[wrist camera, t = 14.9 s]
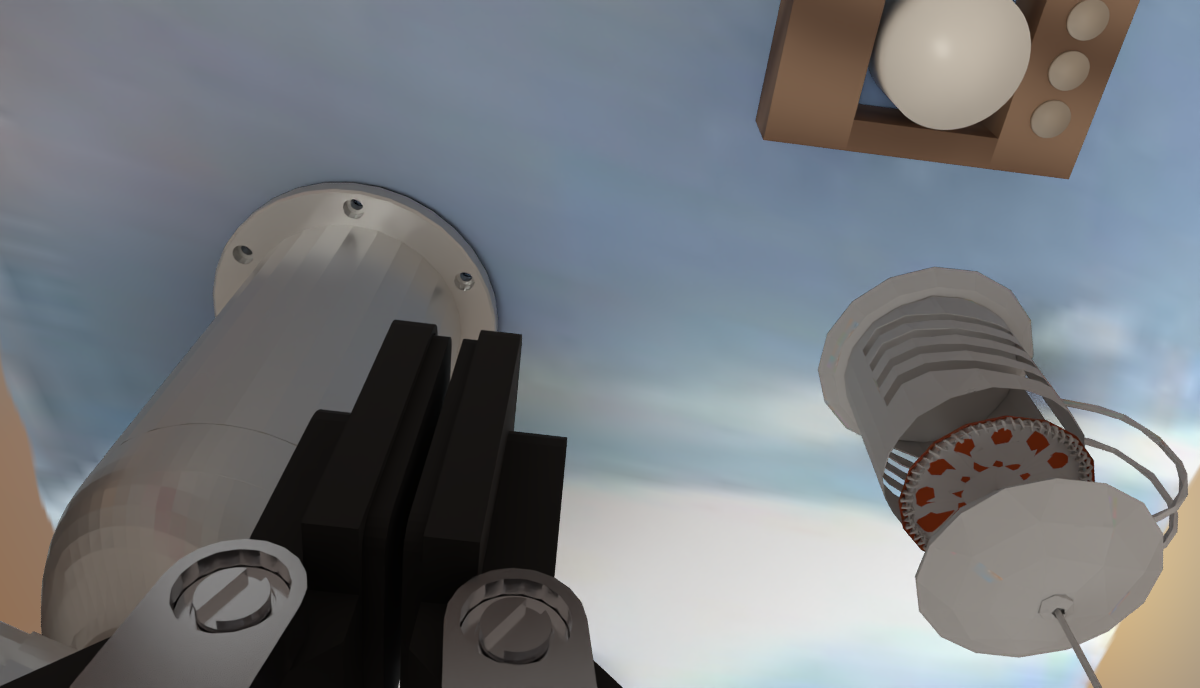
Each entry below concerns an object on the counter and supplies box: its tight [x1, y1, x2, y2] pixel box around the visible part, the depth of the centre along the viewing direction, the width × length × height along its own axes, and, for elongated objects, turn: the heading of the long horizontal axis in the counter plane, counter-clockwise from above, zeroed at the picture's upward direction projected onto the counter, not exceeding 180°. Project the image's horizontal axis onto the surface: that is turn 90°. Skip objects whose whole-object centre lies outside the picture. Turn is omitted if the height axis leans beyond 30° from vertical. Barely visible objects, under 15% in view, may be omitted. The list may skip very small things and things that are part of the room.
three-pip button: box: [868, 0, 1031, 130], centre depth 34 cm, size 5×5×3 cm
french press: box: [818, 267, 1188, 688], centre depth 32 cm, size 10×12×25 cm
